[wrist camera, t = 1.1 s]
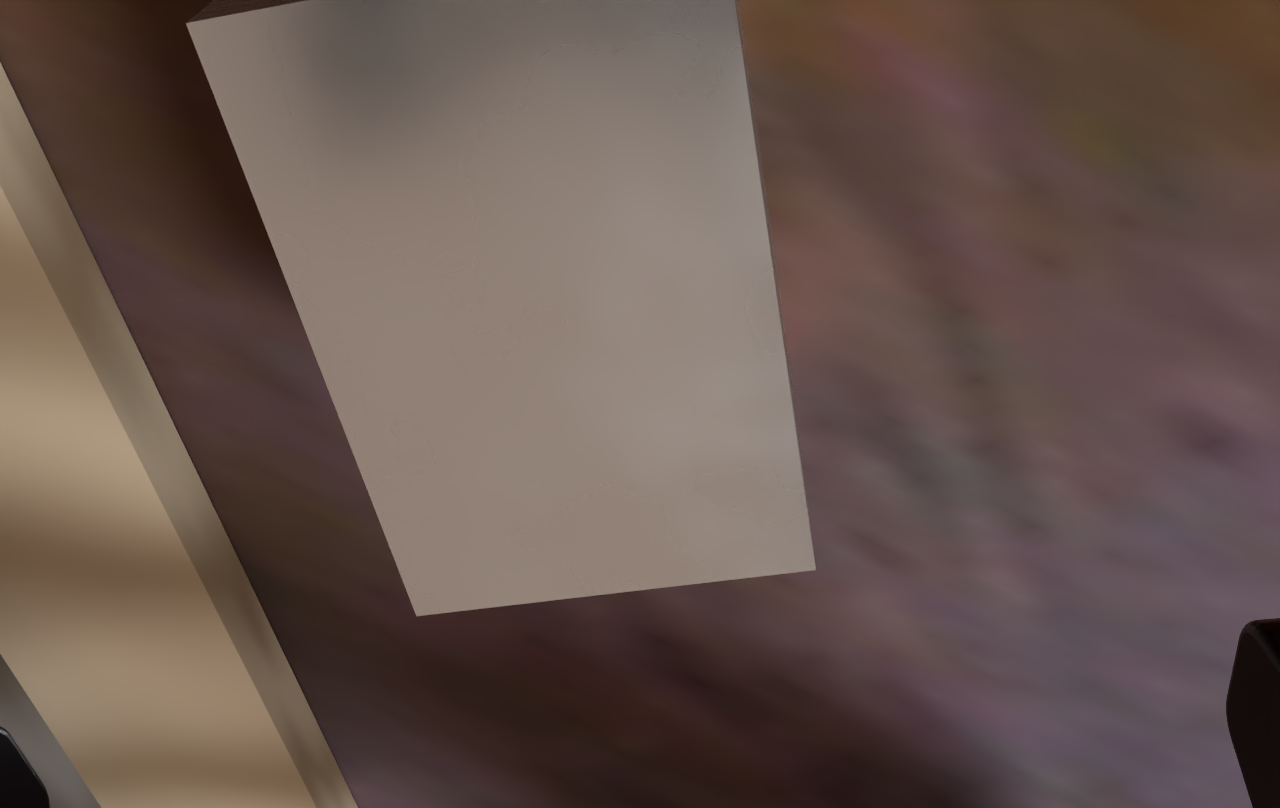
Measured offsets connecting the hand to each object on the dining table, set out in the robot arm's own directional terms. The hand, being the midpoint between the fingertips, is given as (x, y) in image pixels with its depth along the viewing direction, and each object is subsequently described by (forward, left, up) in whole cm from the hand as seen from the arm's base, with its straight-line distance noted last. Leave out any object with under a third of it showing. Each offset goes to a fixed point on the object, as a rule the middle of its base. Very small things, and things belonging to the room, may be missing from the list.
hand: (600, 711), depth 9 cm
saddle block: (-1, +1, -13) cm, 13 cm away
